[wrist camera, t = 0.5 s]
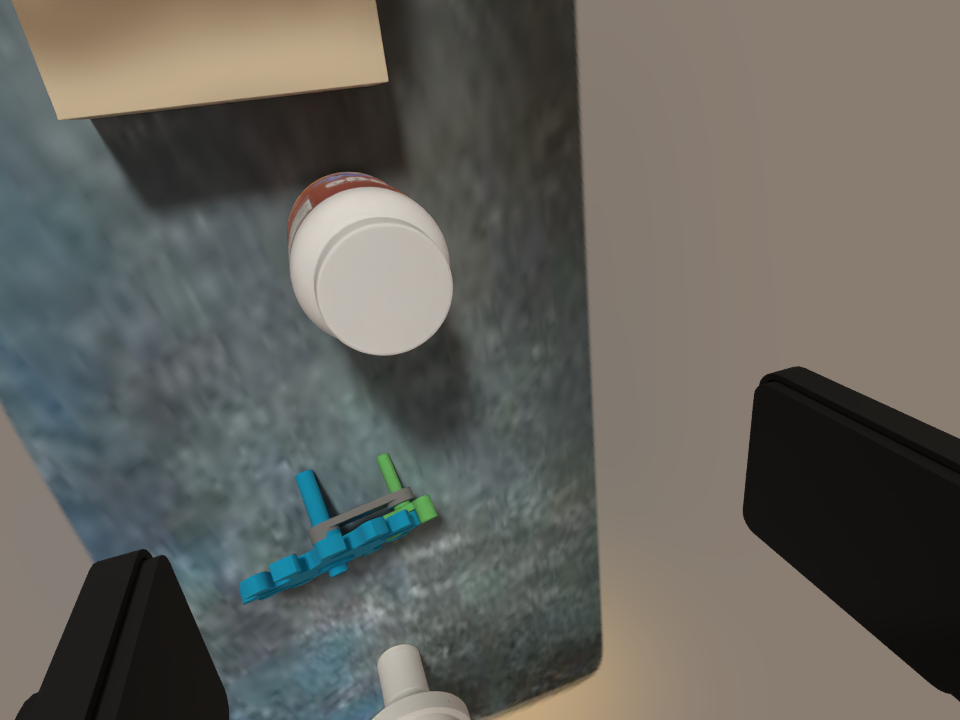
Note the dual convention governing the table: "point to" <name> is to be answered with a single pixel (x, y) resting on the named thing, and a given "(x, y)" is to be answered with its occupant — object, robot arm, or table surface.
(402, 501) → the gear
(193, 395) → the table surface
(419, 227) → the pill bottle
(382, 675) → the white flanged pipe fitting
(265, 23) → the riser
